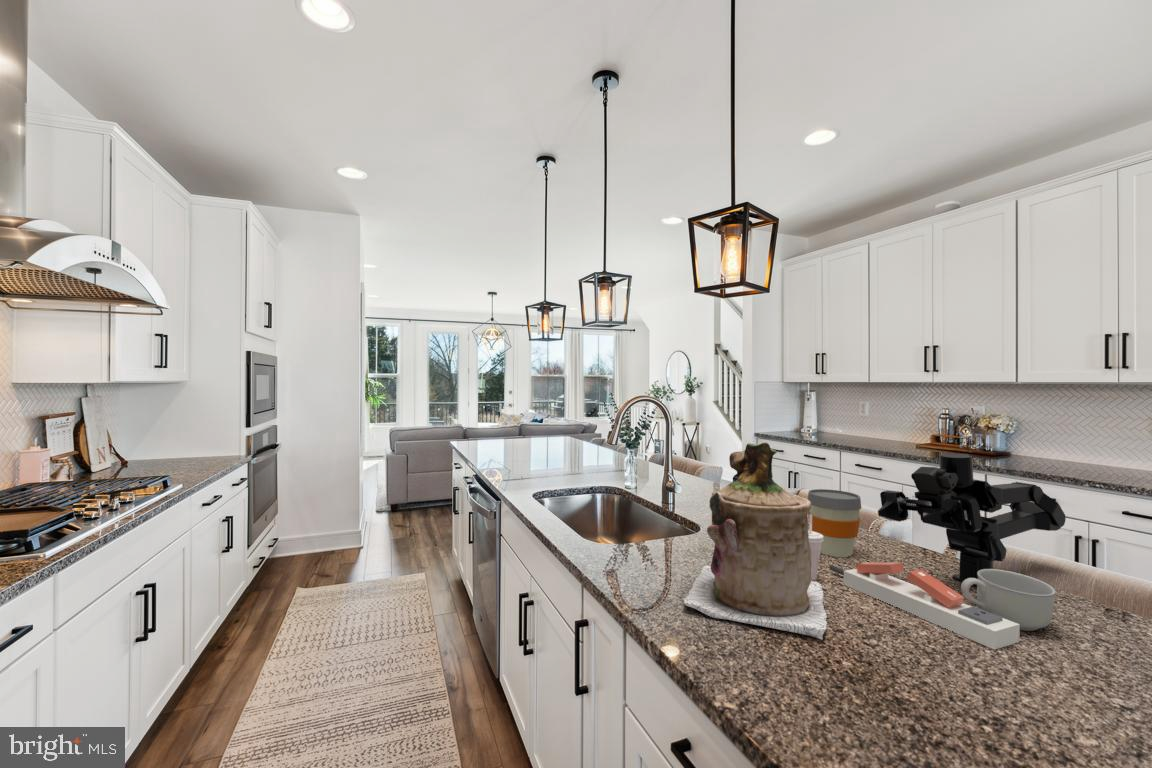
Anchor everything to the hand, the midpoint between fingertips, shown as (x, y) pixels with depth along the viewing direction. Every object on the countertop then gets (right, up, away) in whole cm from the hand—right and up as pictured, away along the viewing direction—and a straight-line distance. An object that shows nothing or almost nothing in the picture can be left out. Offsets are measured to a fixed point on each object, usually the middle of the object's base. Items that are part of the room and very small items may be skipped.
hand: (899, 516), depth 100 cm
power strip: (-1, -17, -2) cm, 17 cm away
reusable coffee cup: (+1, -17, +29) cm, 33 cm away
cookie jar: (-30, -16, -3) cm, 34 cm away
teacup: (+13, -17, -9) cm, 23 cm away
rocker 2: (+2, -11, -8) cm, 14 cm away
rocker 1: (-3, -11, +3) cm, 12 cm away
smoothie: (-14, -17, +10) cm, 24 cm away
